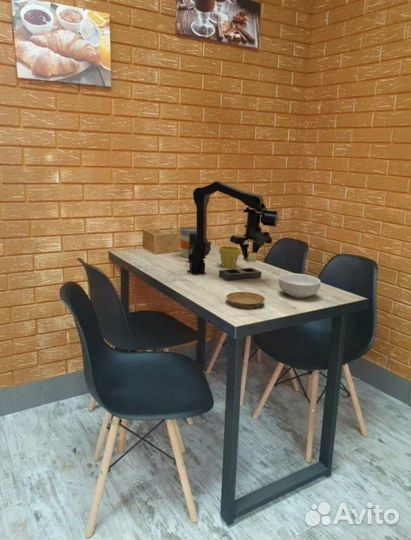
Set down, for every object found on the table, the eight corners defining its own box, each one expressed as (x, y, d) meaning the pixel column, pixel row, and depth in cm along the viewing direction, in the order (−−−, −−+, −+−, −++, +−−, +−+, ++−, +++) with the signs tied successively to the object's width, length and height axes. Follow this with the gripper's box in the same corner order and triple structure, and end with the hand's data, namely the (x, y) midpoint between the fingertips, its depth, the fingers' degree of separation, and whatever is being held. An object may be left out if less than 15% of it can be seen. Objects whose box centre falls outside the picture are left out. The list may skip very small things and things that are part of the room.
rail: (227, 281, 203) (227, 274, 202) (218, 276, 210) (219, 270, 209) (261, 277, 211) (261, 271, 210) (251, 273, 218) (252, 267, 217)
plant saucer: (223, 308, 168) (223, 301, 168) (228, 296, 182) (228, 290, 182) (263, 312, 166) (263, 305, 165) (265, 300, 180) (266, 293, 179)
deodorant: (201, 261, 236) (202, 233, 232) (197, 264, 231) (198, 235, 227) (190, 260, 238) (191, 232, 234) (186, 262, 232) (187, 233, 229)
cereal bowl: (269, 291, 191) (270, 275, 189) (299, 287, 199) (301, 271, 198) (295, 303, 177) (297, 286, 175) (327, 299, 185) (329, 282, 183)
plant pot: (243, 267, 228) (244, 248, 226) (227, 270, 222) (228, 250, 220) (229, 263, 236) (231, 244, 234) (214, 265, 230) (215, 246, 227)
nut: (247, 261, 201) (248, 252, 200) (243, 259, 204) (244, 250, 203) (255, 261, 202) (256, 252, 201) (250, 259, 206) (251, 250, 205)
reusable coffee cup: (202, 260, 240) (203, 231, 236) (178, 258, 240) (179, 230, 236) (202, 254, 252) (204, 228, 249) (180, 253, 252) (181, 226, 249)
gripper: (244, 227, 188) (241, 263, 192) (281, 227, 196) (277, 262, 201) (231, 222, 197) (227, 257, 201) (266, 222, 206) (262, 255, 210)
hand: (249, 258), depth 203 cm, fingers closed on nut, 4 cm apart
